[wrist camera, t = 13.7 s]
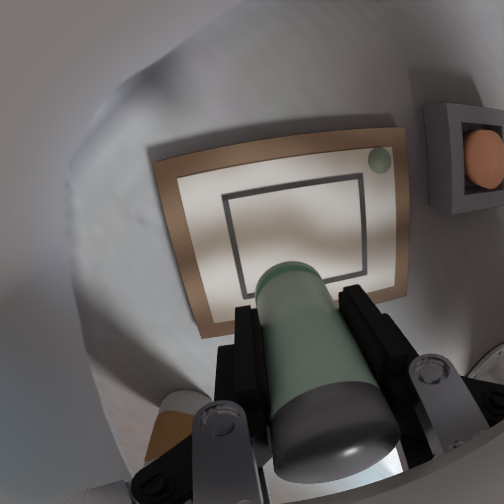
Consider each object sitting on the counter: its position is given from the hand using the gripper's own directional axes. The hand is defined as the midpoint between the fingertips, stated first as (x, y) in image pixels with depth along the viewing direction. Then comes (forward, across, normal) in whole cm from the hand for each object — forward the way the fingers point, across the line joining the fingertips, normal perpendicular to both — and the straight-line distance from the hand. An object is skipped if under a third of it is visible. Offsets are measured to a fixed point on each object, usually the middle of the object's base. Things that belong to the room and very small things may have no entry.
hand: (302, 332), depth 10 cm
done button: (+11, -19, -4) cm, 23 cm away
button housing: (+14, -19, -4) cm, 24 cm away
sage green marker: (+3, 0, 0) cm, 3 cm away
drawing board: (+13, -2, +1) cm, 14 cm away
